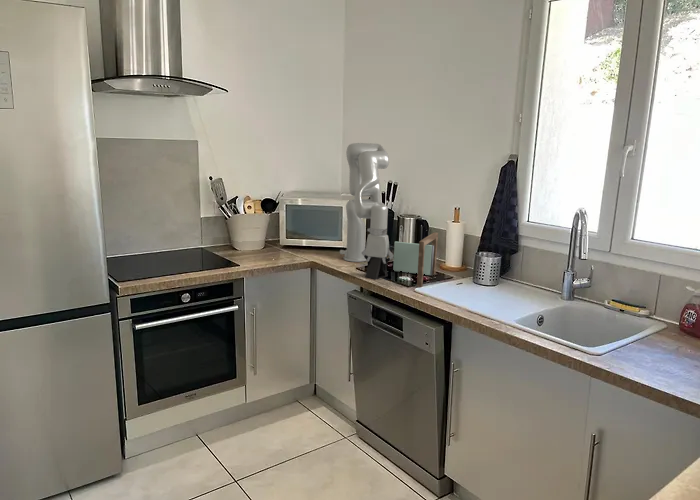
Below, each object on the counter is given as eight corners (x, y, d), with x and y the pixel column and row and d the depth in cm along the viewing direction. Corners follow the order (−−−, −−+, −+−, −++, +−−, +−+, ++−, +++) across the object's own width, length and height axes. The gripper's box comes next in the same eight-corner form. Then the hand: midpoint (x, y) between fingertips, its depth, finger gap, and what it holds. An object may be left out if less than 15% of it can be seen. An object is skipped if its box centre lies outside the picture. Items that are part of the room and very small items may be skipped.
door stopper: (375, 279, 239) (376, 253, 237) (365, 277, 244) (366, 251, 241) (387, 276, 246) (389, 251, 243) (378, 273, 250) (379, 248, 247)
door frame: (416, 286, 230) (419, 241, 226) (431, 273, 253) (434, 232, 249) (421, 287, 230) (423, 241, 225) (435, 274, 253) (438, 232, 248)
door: (432, 274, 249) (434, 245, 246) (431, 275, 248) (433, 246, 245) (394, 269, 256) (395, 241, 254) (393, 270, 255) (394, 241, 252)
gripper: (357, 231, 240) (356, 270, 244) (394, 235, 234) (392, 274, 237) (363, 229, 247) (362, 266, 251) (399, 232, 240) (397, 271, 244)
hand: (376, 270), depth 244 cm, fingers closed on door stopper, 6 cm apart
